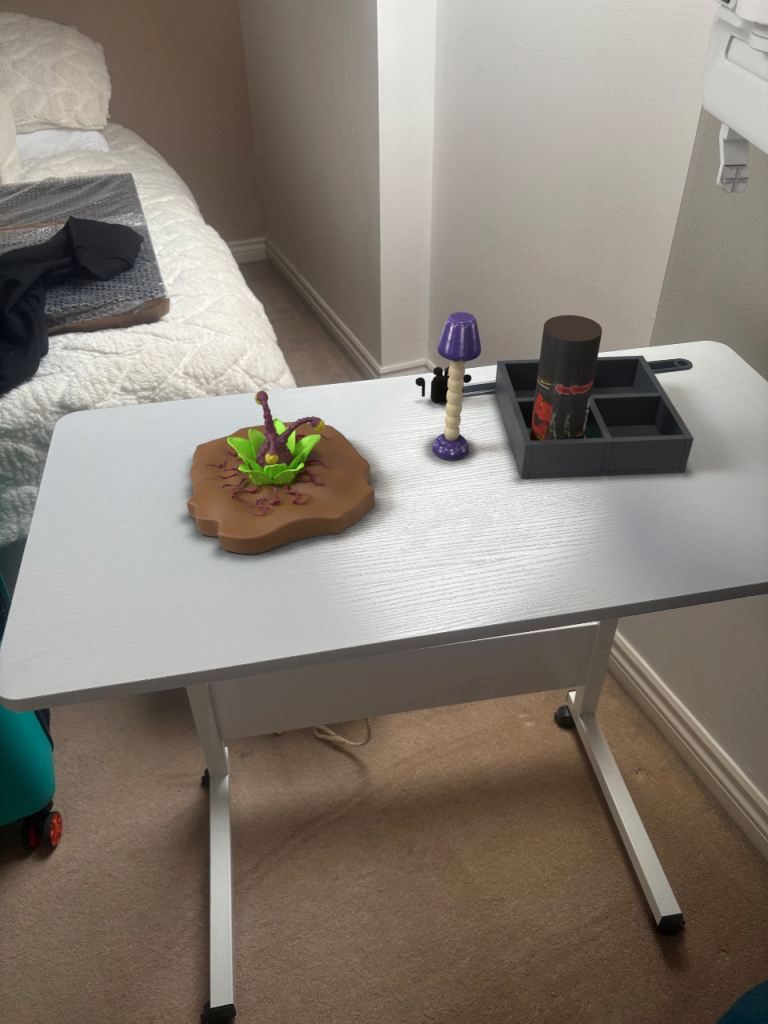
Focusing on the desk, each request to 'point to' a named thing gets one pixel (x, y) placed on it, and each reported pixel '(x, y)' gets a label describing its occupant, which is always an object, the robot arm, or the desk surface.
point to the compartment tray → (597, 423)
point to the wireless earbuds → (439, 384)
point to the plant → (278, 484)
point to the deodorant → (565, 377)
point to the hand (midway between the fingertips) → (754, 211)
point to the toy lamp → (456, 380)
